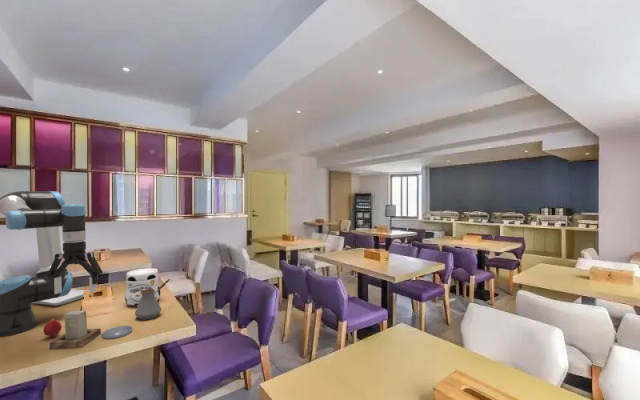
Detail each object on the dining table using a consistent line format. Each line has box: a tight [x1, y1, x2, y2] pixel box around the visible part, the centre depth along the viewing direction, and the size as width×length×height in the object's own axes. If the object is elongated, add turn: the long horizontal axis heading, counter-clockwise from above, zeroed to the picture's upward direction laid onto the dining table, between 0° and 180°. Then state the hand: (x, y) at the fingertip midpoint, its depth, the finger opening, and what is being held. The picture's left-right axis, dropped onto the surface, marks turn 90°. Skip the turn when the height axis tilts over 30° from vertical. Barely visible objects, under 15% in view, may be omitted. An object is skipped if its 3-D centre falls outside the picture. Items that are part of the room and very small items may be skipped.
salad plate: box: [32, 288, 87, 307], centre depth 179 cm, size 21×21×3 cm
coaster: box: [101, 325, 133, 340], centre depth 134 cm, size 11×11×1 cm
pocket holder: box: [48, 328, 102, 350], centre depth 127 cm, size 12×12×2 cm
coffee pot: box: [134, 278, 172, 321], centre depth 158 cm, size 21×12×15 cm, turn 166°
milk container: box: [124, 267, 161, 307], centre depth 172 cm, size 17×17×18 cm
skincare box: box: [64, 310, 88, 340], centre depth 127 cm, size 6×4×12 cm
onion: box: [43, 318, 63, 338], centre depth 131 cm, size 6×6×8 cm
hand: (75, 292), depth 127 cm, fingers open, 13 cm apart
